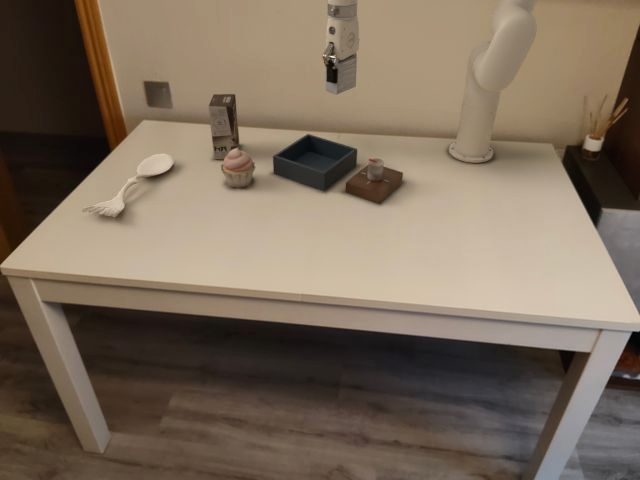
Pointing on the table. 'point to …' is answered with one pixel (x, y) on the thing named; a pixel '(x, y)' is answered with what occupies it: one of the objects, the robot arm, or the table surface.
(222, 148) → the coffee box
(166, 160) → the spoon
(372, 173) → the tap knob
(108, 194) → the table surface
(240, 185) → the cupcake
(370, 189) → the panel
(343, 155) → the open box
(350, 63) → the medicine box
